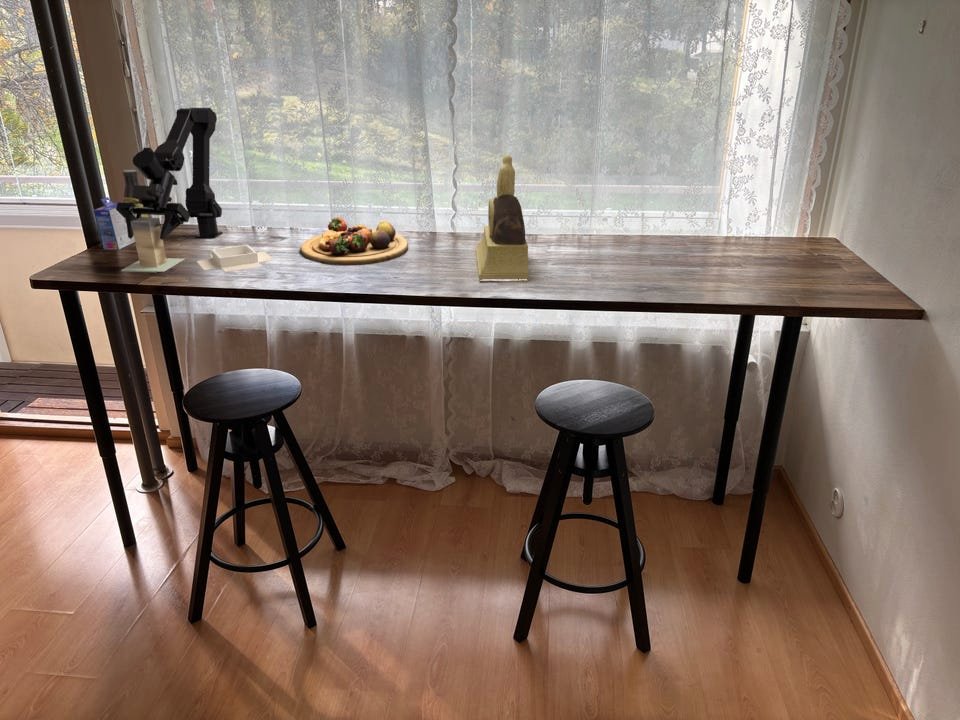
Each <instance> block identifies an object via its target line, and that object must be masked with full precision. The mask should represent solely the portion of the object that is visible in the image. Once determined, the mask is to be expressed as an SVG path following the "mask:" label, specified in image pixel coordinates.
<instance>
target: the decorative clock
mask: <svg viewBox="0 0 960 720" xmlns="http://www.w3.org/2000/svg"><path fill="white" fill-rule="evenodd" d="M501 161H502V164H503V165H502V166H501V167H500V168H499V169H498V174H497V181H496V196H495V197H494V198H489V199H488V208H487V209H488V210H487V213H488V215H487V216H488V217H487V219H488V221H487V222H488V225H483V234H482V235H483V236H482V237H481V240H480V241H479V242H478V243H477V244H476V245H475V256H476V257H475V259H476V258H477V259H476V266H478V267H477V274H479V276H478V281H479V280H482V279H518V280H519V279H527V280H528V281H529V244H528V242H527V239H526V226H525V221H524V215H523V210H522V205H521V204H520V201H519V199H518V197H516V196H515V193H516V192H515V191H516V190H515V187H516V186H515V185H516V182H515V181H516V170H515V168H514V166H513V157H512V156H511V155H510V154H505V155H504V156H503V157H502V159H501Z"/></svg>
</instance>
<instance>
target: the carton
mask: <svg viewBox="0 0 960 720" xmlns="http://www.w3.org/2000/svg"><path fill="white" fill-rule="evenodd" d="M210 251H211V254H209V257H210V258H207V259H202V260H196V263H197V264H198V265H199V266H200V268H202V270H203V271H209V270H215V269H216V270H217V269H221V270H222V271H223V272H224V273H227V272H228V273H229V272H235V271H242V270H248V269H254V268H261V267H263V265H262V264H261V263H262V262H270V261H275V259H273V258H272V257H271V256H270V255H269V254H268V253H267V252H266V251H263V250H262V251H259V252H258V251H255V249H253V248H252V247H251V246H250V245H248V244H242V245H235V246H227V247H221V248H220V247H219V248H213V249H211V250H210Z"/></svg>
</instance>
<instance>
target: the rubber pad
mask: <svg viewBox="0 0 960 720" xmlns="http://www.w3.org/2000/svg"><path fill="white" fill-rule="evenodd" d="M166 260H167V262H166V263H164V264H162V265H160V266H159V267H140V262H139V260H137V261H135V262H133V263H131V264H130V265H128V266H126V267H124V268H123V269H121V272H126V273H128V272H131V273H157V272H162V273H165V271H168V270H169V269H171V268H172V267H174V266H176V265H177V264H179V263H181V262H182V261H184V260H185V258H176V257H175V258H174V257H173V258H169V257H168V258H167V257H166Z"/></svg>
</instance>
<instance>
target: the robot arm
mask: <svg viewBox="0 0 960 720" xmlns="http://www.w3.org/2000/svg"><path fill="white" fill-rule="evenodd" d="M175 112H176V117H175V119H174V120H173V123H172V126H171V128H170V130H169V132H168V134H167V137H166V139H165V141H164V142H163V143H161V144H159V145H158V146H157V147H156V149H155V150H153V149H152V147H143V149H142V150H141V151H139V152H137V153H136V154H135V155H134V156H133V157H132V163H133V165H134V167H135V168H136V170H137V171H139V172H140V173H141V174H142V176H143V177H144V178H145V179H147V180H149V183H148V185H140V184H139V185H133V186H132V198H136V199H139V201H138V202H139V203H140V204H142V205H143V207H137V206H136V205H135V204H134V203H133V202H124V200H123V201H122V200H121V201H119V202H116V203H117V206H116V210H117V211H118V212H119V213H120V214H121V215H122V216H123V217H124V218H125V219H126V224H127V232H128V237H129V238H130V239H132V237H133V236H134V233H133V229H132V227H131V221H133V220H136V219H138V218H141V214H148V216H149V215H152V216H164V221H163V223H162V226H161V234H160V239H161V240H163V241H164V240H165V239H166V238H167V237H168V236H169V235H170V234H171V233H172V232H173V231H174V230H175V229H177V228H178V227H179V226H180V225H184V224H185V223H188V222H189V221H190V219H191V218H192V219H193V218H196V220H197V227H198V234H195V236H194V237H195V238H200V239H201V238H206V239H215V238H217V237H218V235H219V236H220V235H222V234H223V232H224V231H219V230H218V229H219V228H218V222H217V218H221V217H222V215H223V208H222V207H221V205H220V204H219V203H218V202H217V201H216V195H215V193H214V191H213V189H212V188H211V186H210V153H211V152H210V146H211V145H210V140H211V137H212V136H213V134H214V133H215V131H216V126H217V125H216V123H217V120H218V117H217V114H216V112H215V111H213V109H212V108H211V107H189V108H183V107H182V108H179V109H177V110H176V111H175ZM190 134H191V135H192V183H191V186H190V187H187V188H186V190H185V200H184V202H185V206H184V205H183V204H182V203H180V202H172V200H173V199H172V197H171V192H172V189H173V186H178V181H177V179H176V177H175V175H174V174H173V173H172V172H180V171H182V169H183V166H184V162H185V159H186V158H185V155H184V153H183V151H184V149H185V146H186V145H187V144H186V143H187V141H188V139H189V136H190ZM221 233H222V234H221Z"/></svg>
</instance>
